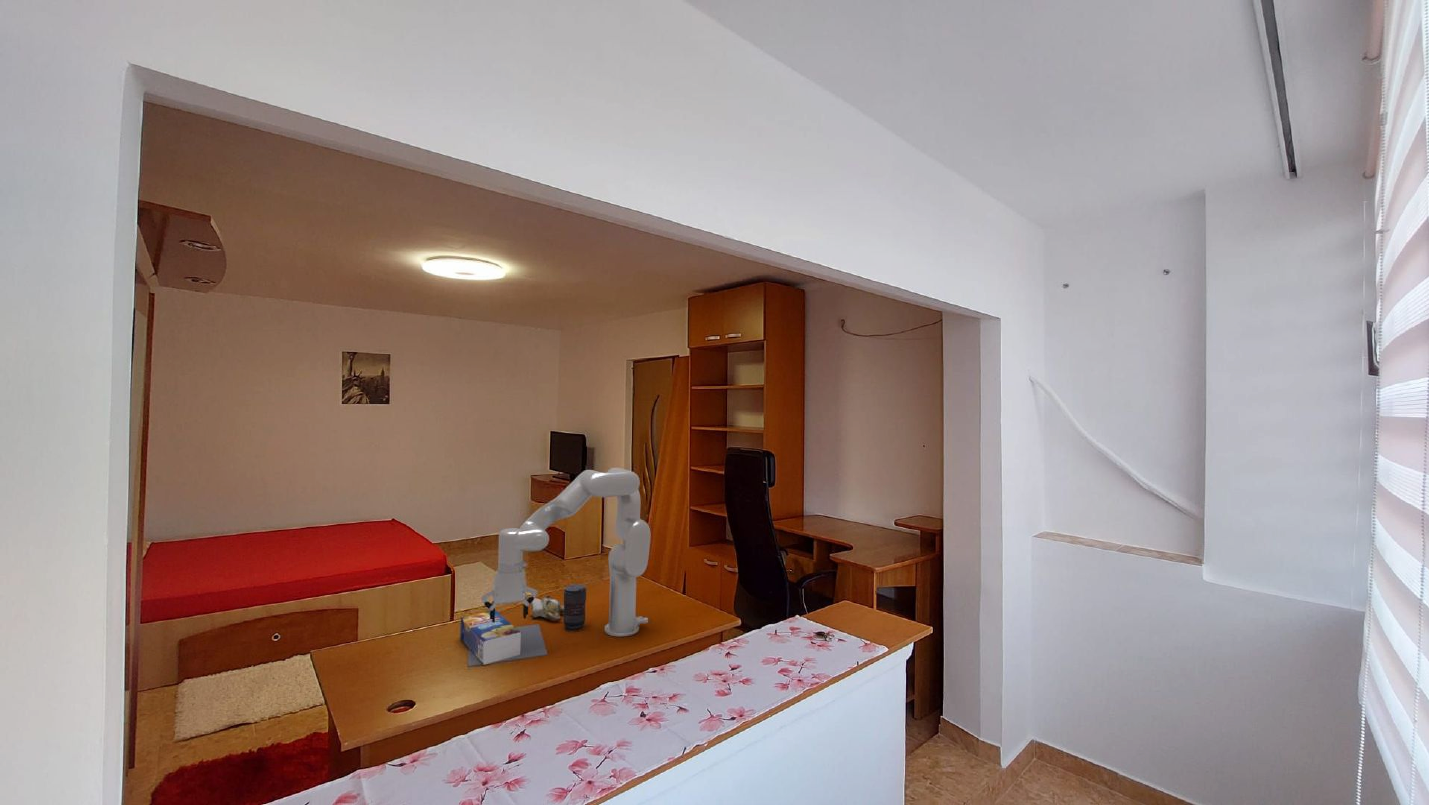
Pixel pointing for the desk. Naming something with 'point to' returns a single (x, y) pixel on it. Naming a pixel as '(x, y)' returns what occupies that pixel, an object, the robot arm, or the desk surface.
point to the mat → (528, 647)
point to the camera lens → (574, 607)
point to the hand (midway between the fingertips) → (509, 619)
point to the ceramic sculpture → (547, 608)
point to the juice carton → (490, 637)
